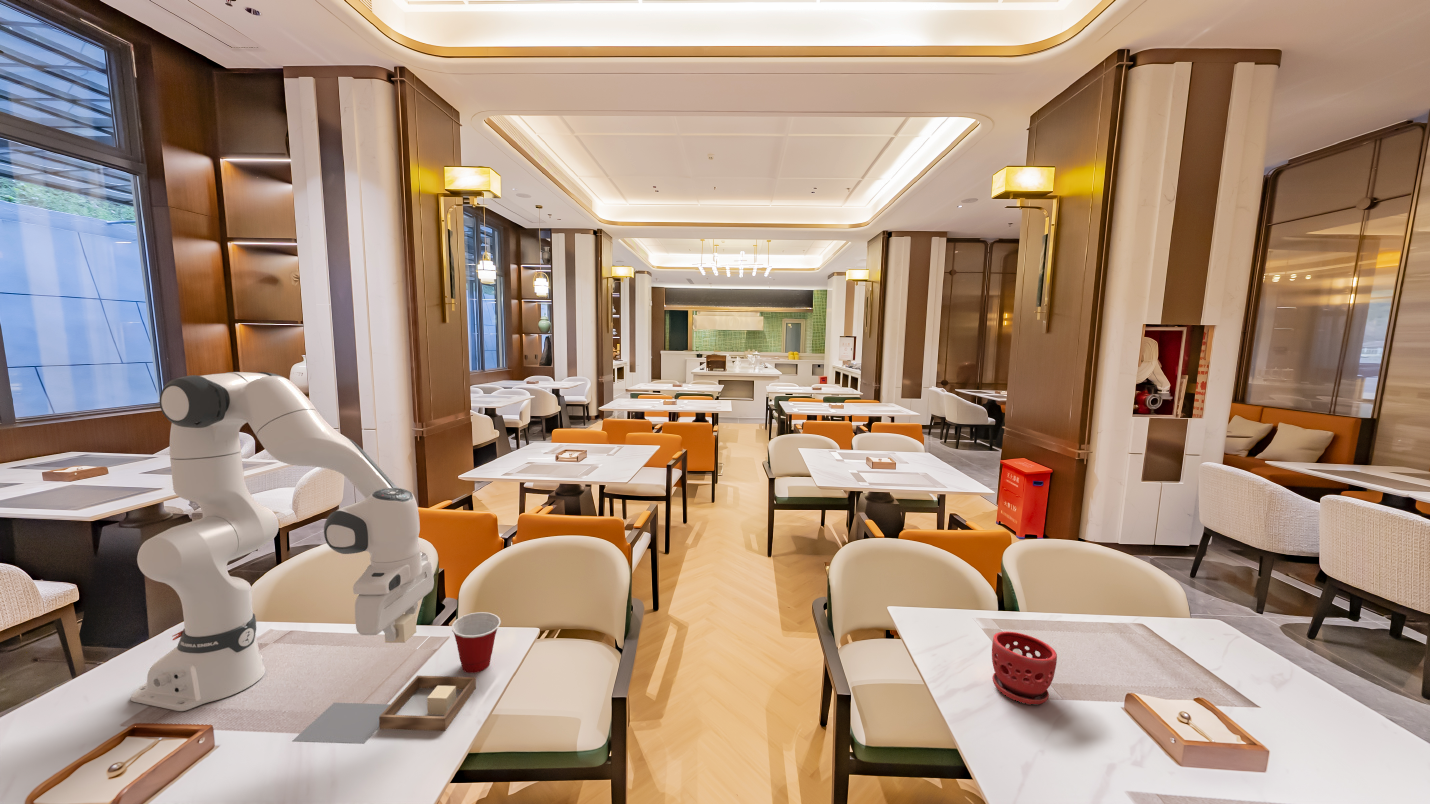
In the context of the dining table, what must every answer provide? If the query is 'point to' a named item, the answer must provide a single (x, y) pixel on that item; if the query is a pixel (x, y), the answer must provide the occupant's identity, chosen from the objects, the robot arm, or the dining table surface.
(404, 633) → the cream wooden cube
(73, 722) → the dining table surface
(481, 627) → the plastic cup
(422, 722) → the walnut bin
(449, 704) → the beige block
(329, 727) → the slate board
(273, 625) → the dining table surface
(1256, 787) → the dining table surface
